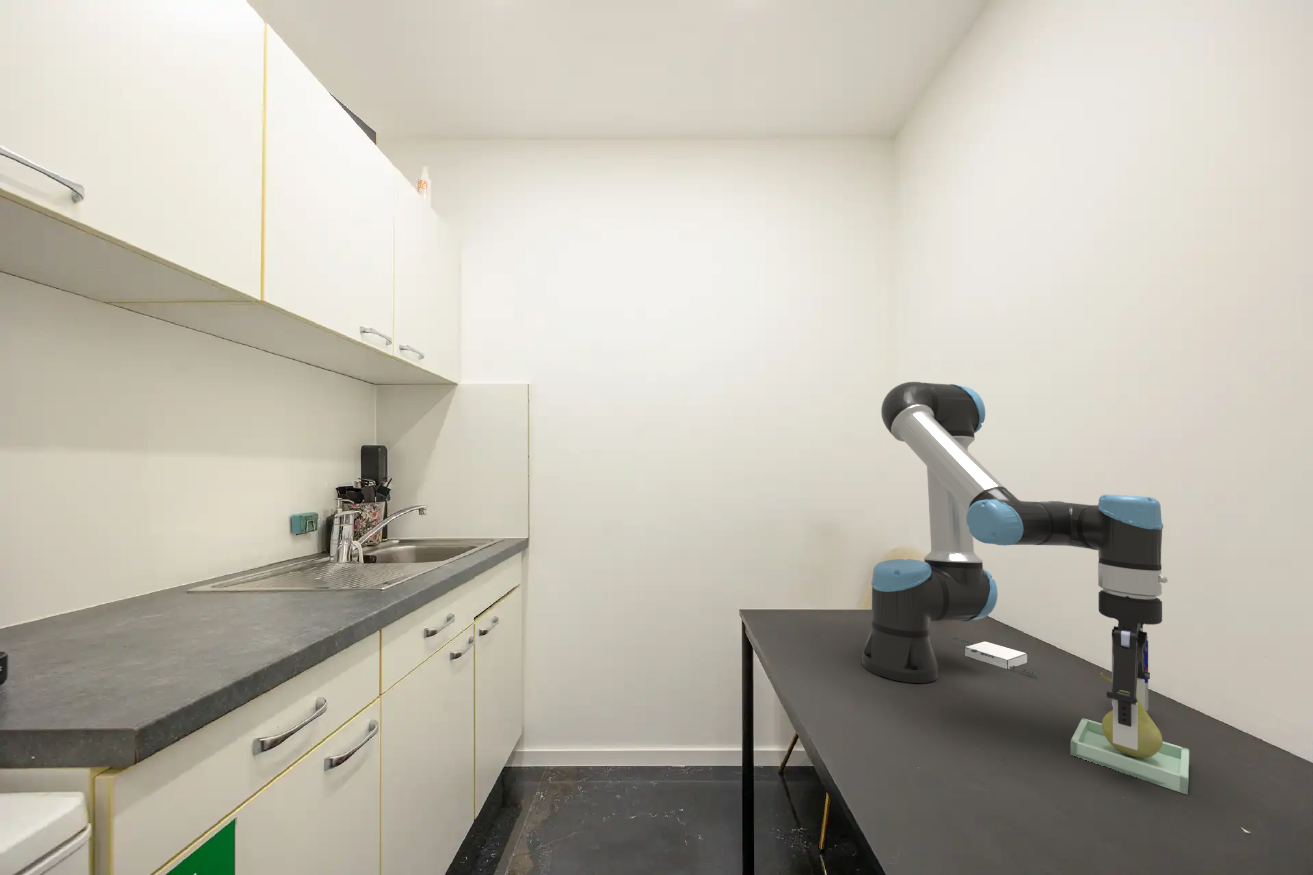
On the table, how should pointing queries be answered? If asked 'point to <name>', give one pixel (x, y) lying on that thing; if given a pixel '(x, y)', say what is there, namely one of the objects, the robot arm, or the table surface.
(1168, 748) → the tray
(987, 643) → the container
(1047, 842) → the table surface
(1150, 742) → the fruit
